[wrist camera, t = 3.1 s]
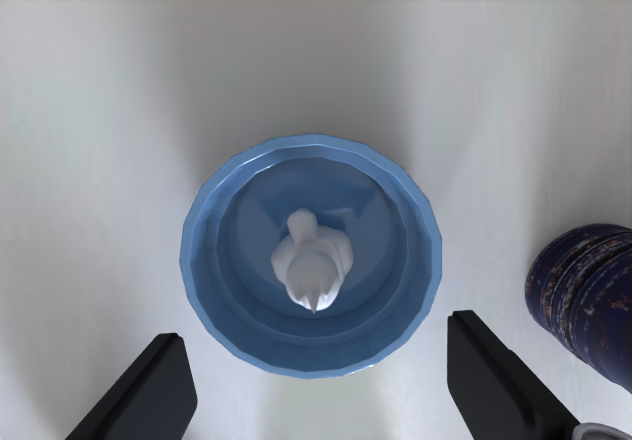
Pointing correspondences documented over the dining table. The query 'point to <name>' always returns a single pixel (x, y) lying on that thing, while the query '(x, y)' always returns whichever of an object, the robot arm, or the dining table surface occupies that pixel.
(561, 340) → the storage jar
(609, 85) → the dining table surface
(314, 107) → the dining table surface
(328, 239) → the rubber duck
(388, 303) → the bowl
